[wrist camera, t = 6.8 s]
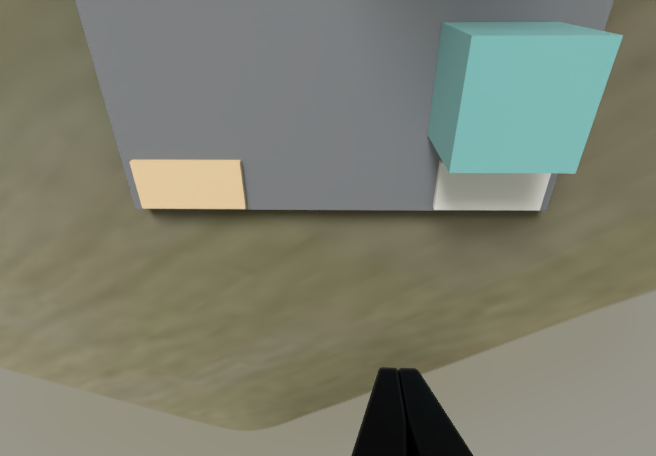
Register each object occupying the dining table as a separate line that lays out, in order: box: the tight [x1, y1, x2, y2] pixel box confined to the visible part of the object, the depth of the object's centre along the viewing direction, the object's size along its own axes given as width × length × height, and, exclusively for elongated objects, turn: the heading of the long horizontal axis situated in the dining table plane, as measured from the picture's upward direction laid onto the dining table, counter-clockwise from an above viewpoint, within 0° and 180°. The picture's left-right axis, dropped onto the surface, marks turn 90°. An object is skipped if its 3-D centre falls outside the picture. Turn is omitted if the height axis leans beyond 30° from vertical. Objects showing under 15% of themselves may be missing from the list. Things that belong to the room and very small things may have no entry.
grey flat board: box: [75, 0, 614, 211], centre depth 17 cm, size 20×12×1 cm, turn 90°
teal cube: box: [428, 22, 623, 173], centre depth 15 cm, size 4×4×4 cm
